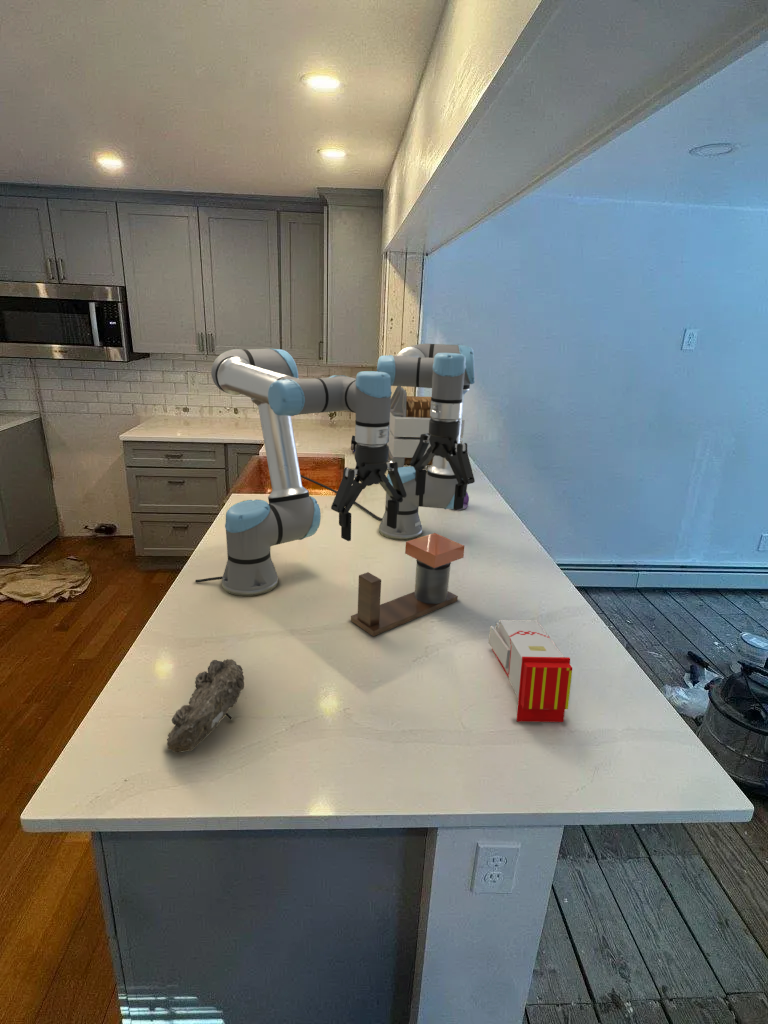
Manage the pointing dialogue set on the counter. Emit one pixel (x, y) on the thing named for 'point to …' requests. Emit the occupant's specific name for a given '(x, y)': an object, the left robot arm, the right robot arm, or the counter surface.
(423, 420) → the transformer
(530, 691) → the toy
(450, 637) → the counter surface
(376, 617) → the caddy
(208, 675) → the fossil
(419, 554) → the orange square block
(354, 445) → the figurine character
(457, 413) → the right robot arm
